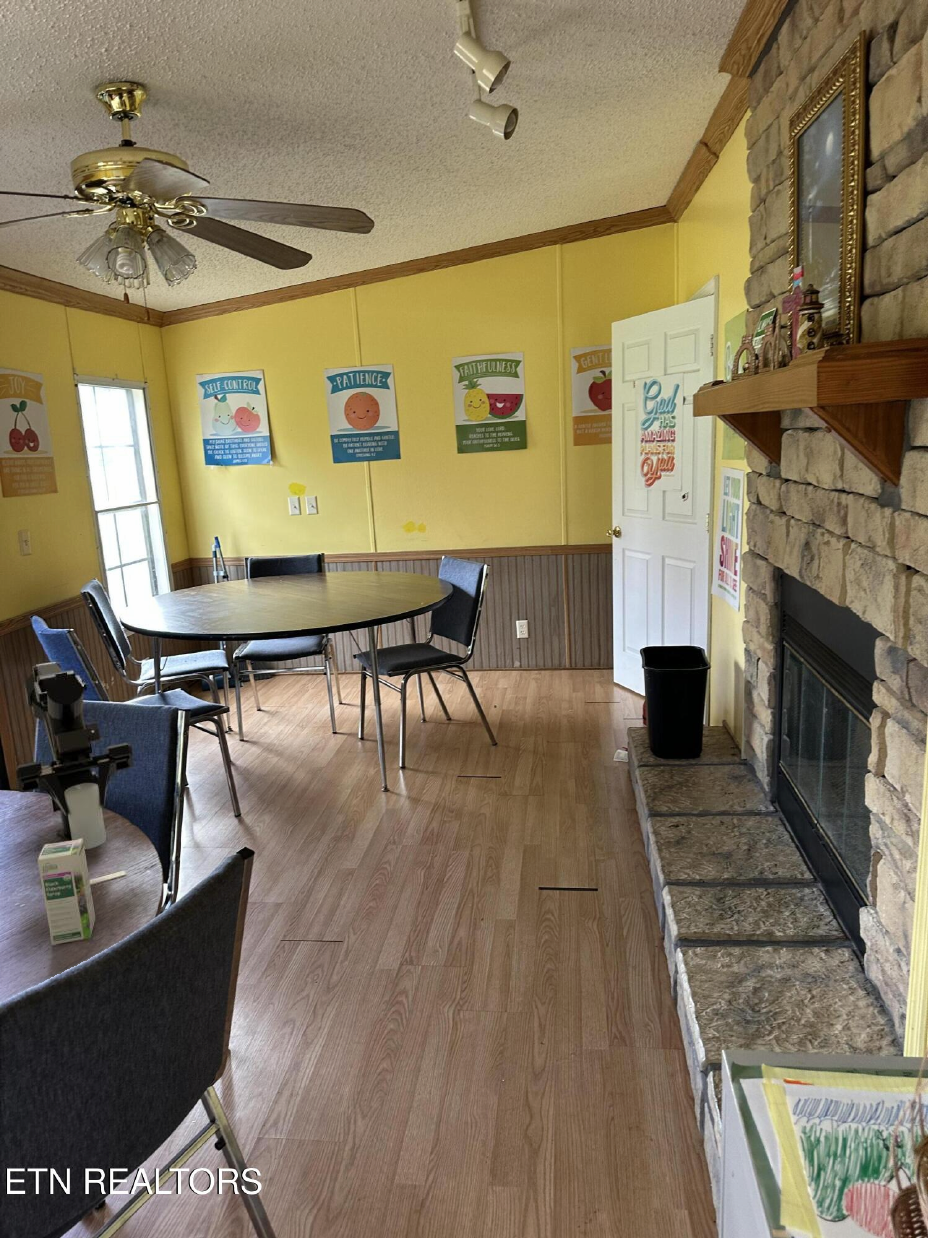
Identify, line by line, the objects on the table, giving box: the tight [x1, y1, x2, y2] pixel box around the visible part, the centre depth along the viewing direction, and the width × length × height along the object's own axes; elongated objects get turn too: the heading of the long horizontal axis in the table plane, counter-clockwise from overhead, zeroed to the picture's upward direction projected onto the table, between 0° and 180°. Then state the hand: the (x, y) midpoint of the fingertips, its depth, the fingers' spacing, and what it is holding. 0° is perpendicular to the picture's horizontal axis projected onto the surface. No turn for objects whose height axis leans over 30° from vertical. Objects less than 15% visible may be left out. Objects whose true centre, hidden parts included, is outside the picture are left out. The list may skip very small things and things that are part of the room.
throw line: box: [89, 870, 127, 886], centre depth 147 cm, size 10×2×1 cm, turn 121°
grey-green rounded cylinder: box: [64, 783, 107, 850], centre depth 147 cm, size 5×5×10 cm
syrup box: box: [37, 838, 96, 946], centre depth 130 cm, size 6×6×14 cm
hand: (85, 810), depth 146 cm, fingers closed on grey-green rounded cylinder, 5 cm apart
